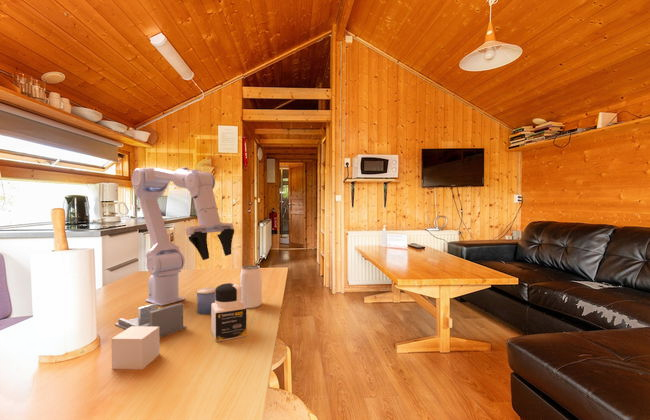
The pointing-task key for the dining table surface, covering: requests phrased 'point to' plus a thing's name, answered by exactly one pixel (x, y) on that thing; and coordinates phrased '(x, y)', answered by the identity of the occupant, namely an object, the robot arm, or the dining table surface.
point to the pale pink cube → (135, 347)
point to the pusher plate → (145, 313)
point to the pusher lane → (160, 320)
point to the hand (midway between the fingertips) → (217, 257)
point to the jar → (205, 300)
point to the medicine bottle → (228, 313)
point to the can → (251, 286)
